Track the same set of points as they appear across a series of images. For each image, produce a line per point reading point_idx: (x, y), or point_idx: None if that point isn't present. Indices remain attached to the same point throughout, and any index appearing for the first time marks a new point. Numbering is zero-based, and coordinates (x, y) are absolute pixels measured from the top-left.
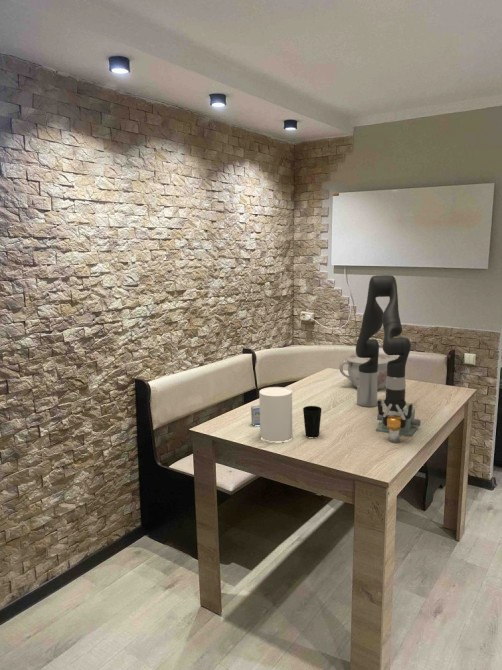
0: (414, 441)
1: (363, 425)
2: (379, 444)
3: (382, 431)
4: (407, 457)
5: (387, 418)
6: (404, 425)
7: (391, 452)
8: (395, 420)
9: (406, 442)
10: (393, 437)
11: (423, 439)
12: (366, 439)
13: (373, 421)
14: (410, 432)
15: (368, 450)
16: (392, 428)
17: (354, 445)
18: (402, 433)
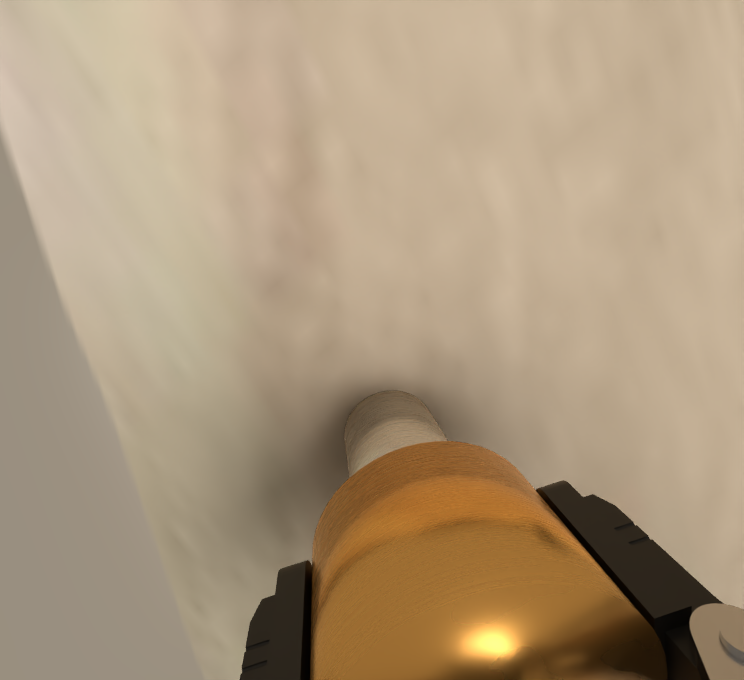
0: (240, 541)
1: (729, 542)
2: (461, 262)
3: None
4: (16, 108)
5: (614, 593)
6: (261, 629)
7: (250, 132)
8: (395, 617)
9: (282, 477)
10: (383, 419)
11: (208, 623)
12: (614, 294)
13: None
14: None
15: (485, 5)
16: (408, 454)
17: (666, 49)
18: None
